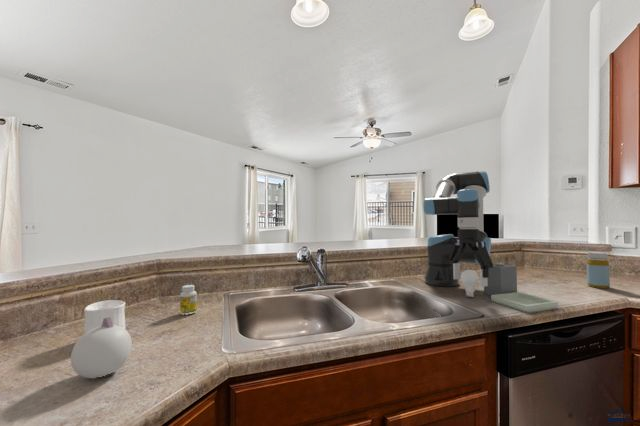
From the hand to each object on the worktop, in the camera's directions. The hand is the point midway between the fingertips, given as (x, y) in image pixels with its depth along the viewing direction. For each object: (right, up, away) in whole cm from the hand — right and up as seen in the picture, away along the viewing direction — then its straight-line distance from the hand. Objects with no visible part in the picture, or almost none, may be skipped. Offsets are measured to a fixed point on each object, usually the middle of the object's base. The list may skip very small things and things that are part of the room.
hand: (469, 282), depth 111 cm
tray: (+14, -6, -9) cm, 18 cm away
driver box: (+14, -6, +3) cm, 16 cm away
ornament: (-106, -8, -50) cm, 117 cm away
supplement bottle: (-105, -8, -12) cm, 106 cm away
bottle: (+63, -5, +13) cm, 65 cm away
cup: (-119, -8, -32) cm, 124 cm away
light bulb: (0, -6, 0) cm, 6 cm away
